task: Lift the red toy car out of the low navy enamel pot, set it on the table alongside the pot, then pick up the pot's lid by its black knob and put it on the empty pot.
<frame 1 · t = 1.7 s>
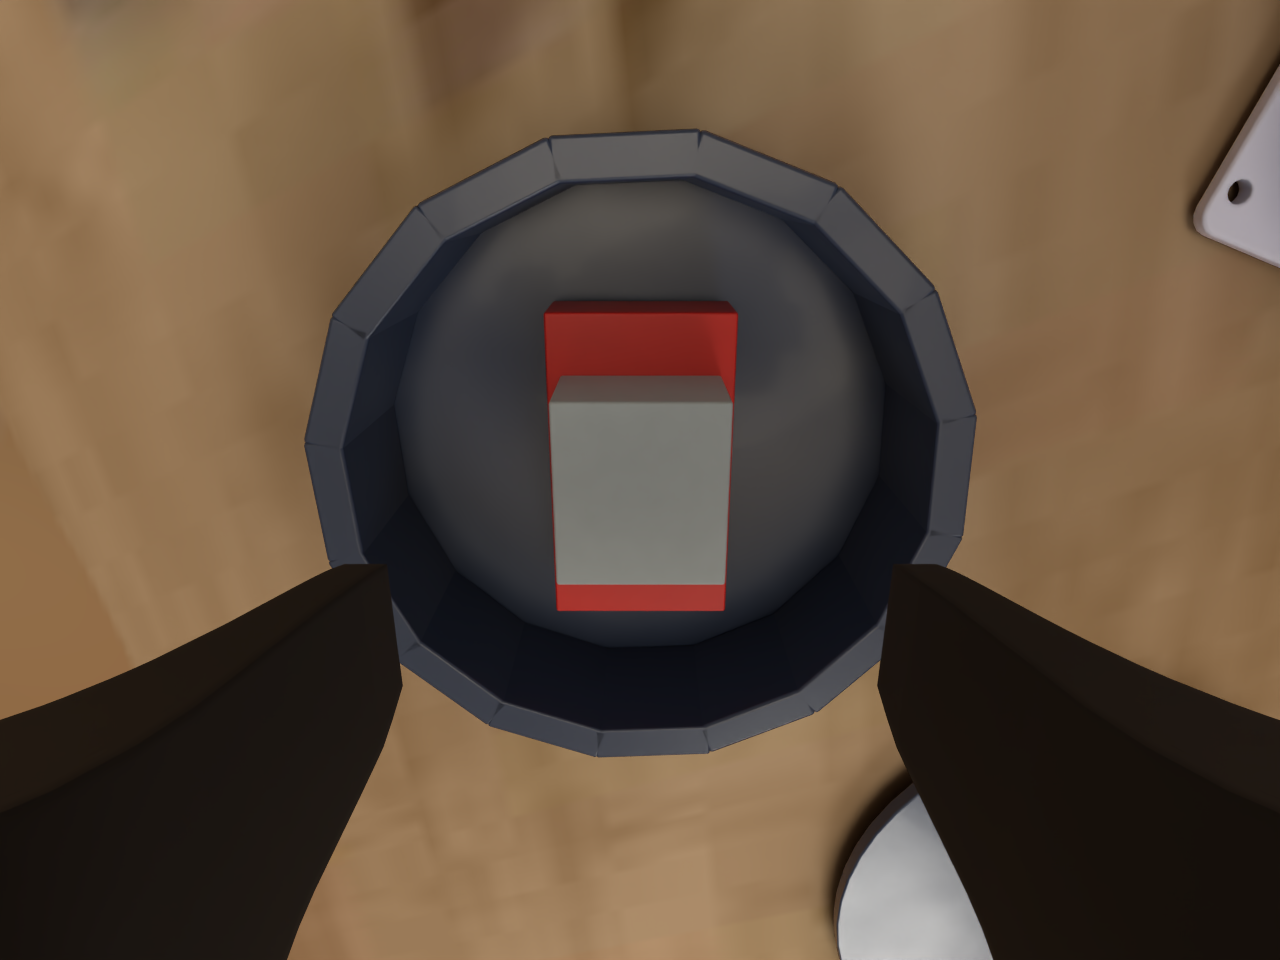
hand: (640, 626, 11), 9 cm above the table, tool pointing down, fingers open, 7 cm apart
toy car: (640, 440, 19), resting on pot
pot: (640, 434, 20), on the table
lid: (1061, 903, 24), point 1 cm above the table
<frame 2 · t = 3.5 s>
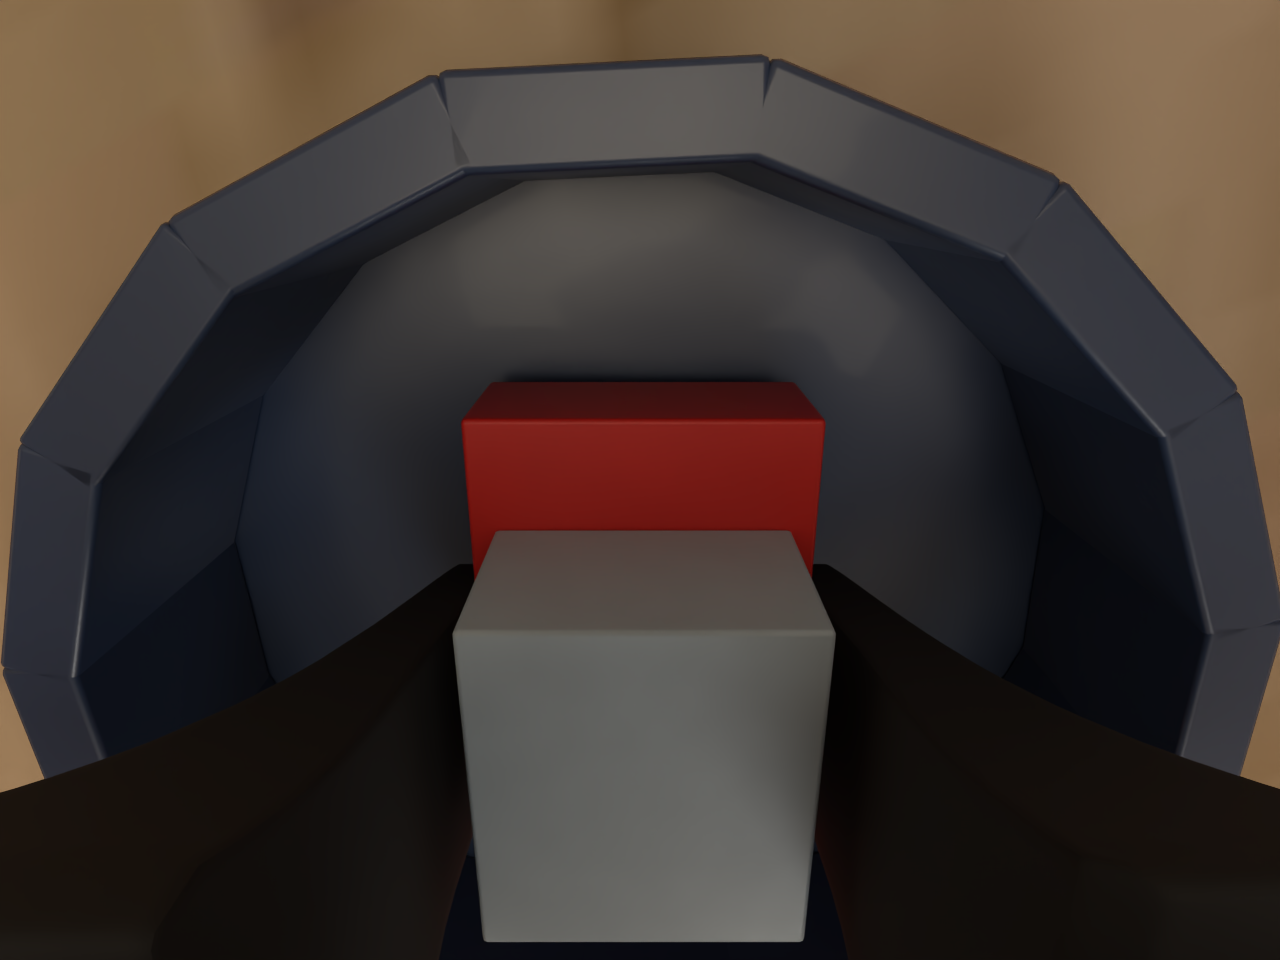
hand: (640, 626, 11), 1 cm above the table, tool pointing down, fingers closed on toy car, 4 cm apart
toy car: (642, 594, 12), resting on pot, touching gripper
pot: (640, 579, 12), on the table
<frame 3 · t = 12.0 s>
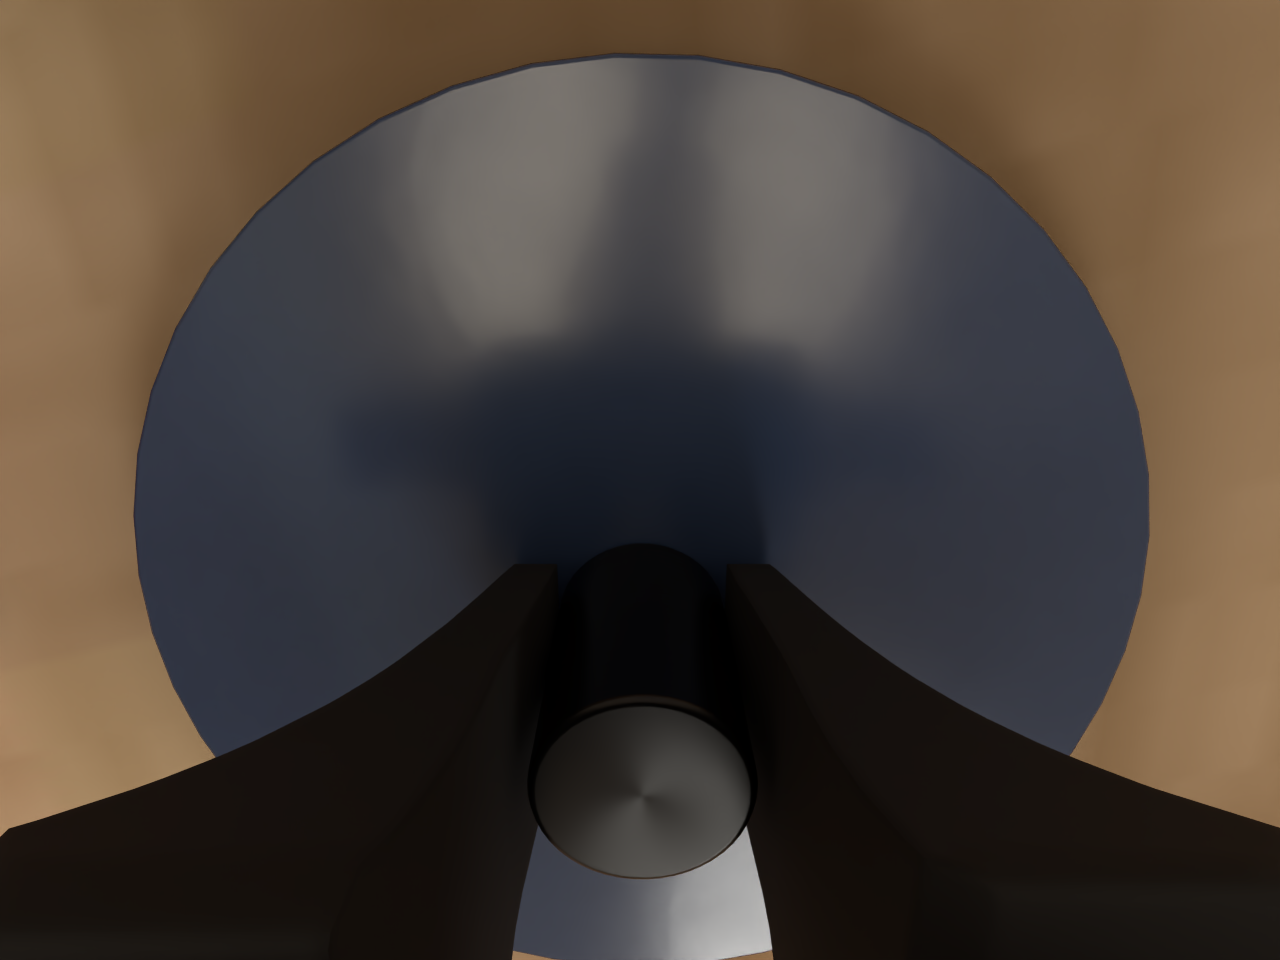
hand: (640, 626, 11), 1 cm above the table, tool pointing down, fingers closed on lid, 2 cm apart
lid: (641, 597, 12), point 1 cm above the table, touching gripper
when the fingers open (5 cm above the table, at t = 16.5 s): lid stays where it is, resting on pot.
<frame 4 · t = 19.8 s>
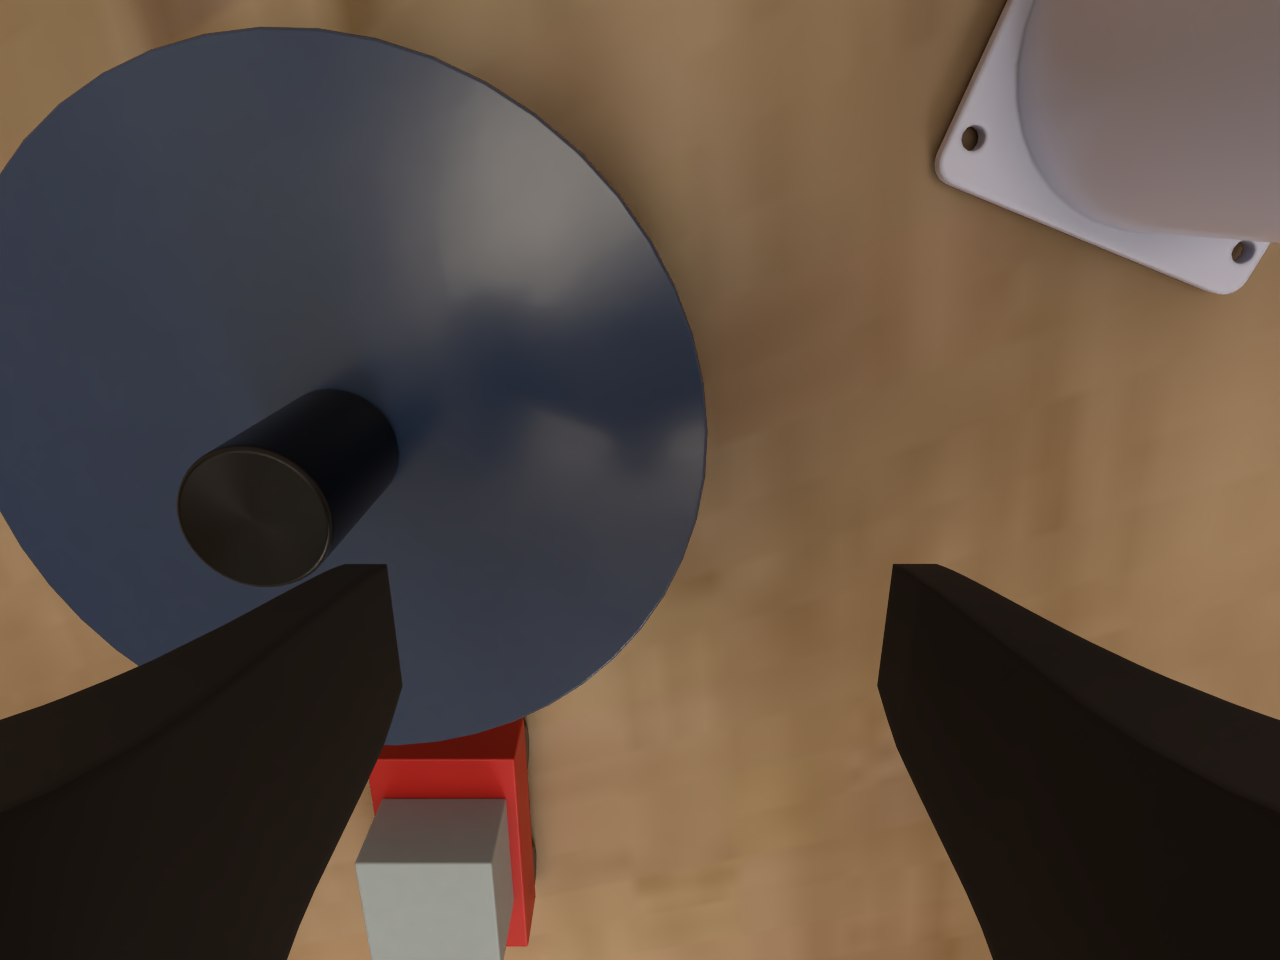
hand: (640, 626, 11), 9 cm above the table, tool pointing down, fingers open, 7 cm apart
toy car: (468, 796, 24), on the table
lid: (348, 439, 16), point 4 cm above the table, touching pot
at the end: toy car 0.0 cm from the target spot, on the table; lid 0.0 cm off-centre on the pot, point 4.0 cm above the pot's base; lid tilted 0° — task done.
